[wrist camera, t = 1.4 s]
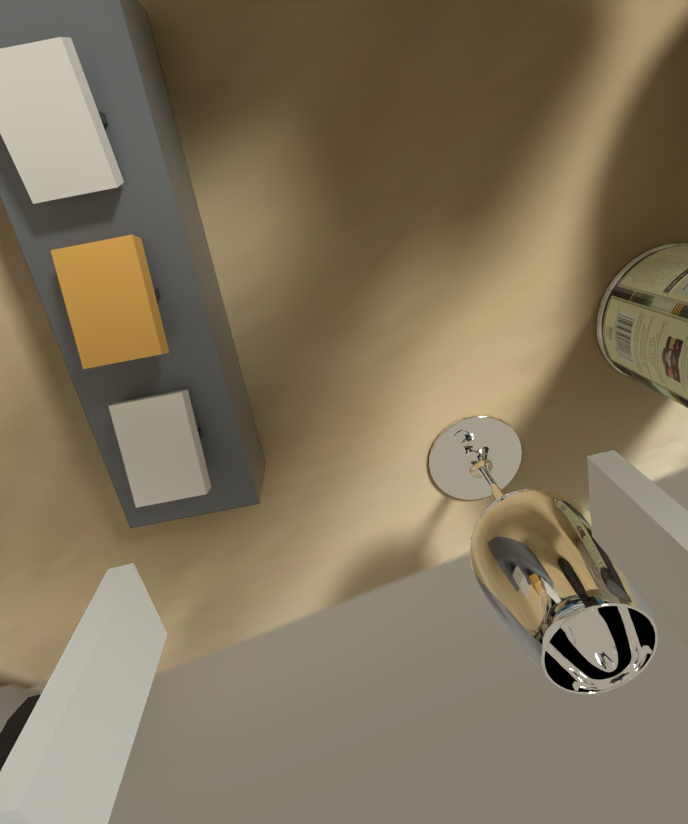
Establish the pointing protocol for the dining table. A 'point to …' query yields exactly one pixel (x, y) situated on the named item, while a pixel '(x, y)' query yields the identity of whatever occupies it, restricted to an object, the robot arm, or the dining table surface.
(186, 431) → the block
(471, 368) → the dining table surface
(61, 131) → the block
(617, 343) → the coffee can
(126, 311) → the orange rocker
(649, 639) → the wineglass
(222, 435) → the power strip
